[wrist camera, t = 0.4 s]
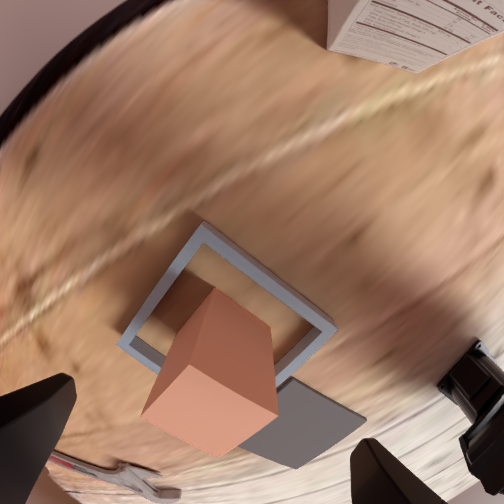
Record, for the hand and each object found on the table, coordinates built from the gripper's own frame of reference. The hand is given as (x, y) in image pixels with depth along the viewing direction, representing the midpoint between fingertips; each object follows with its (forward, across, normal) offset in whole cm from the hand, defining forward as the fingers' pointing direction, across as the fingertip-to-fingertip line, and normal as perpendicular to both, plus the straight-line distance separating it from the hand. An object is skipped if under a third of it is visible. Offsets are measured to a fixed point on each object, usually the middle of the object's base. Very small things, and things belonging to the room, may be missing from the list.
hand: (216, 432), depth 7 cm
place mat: (+14, -8, +14) cm, 21 cm away
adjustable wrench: (+14, +14, +33) cm, 38 cm away
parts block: (+13, 0, +4) cm, 14 cm away
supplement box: (+14, -5, -21) cm, 25 cm away
